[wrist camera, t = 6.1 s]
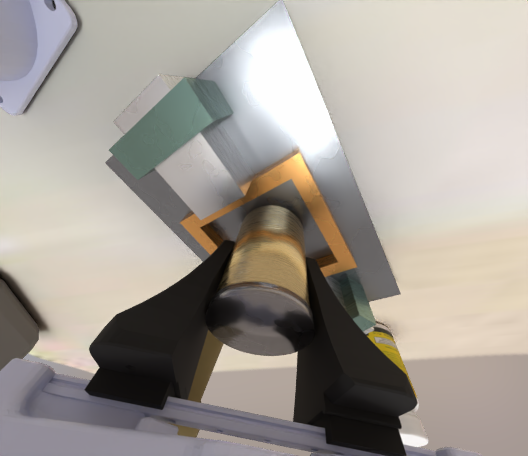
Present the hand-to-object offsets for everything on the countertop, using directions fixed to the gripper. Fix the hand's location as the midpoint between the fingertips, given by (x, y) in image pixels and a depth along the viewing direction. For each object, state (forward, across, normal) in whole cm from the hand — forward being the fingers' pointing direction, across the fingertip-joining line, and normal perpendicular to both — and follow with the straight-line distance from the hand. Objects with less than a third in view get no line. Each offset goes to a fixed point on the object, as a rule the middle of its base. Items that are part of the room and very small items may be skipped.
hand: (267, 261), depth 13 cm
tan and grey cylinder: (+2, 0, 0) cm, 2 cm away
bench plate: (+4, 0, 0) cm, 4 cm away
